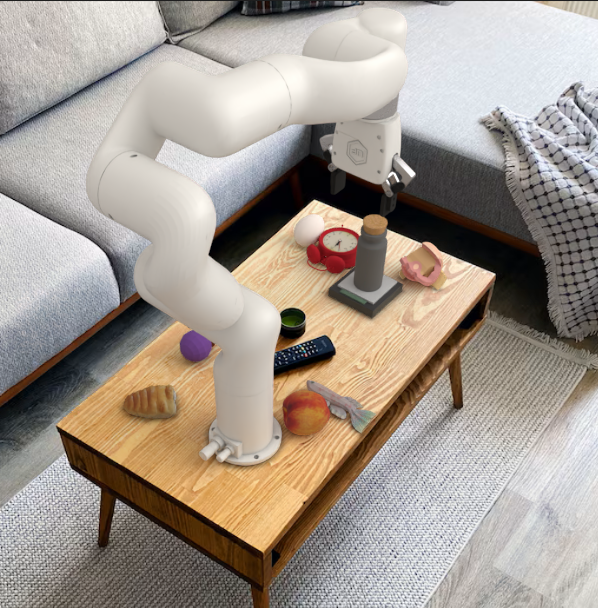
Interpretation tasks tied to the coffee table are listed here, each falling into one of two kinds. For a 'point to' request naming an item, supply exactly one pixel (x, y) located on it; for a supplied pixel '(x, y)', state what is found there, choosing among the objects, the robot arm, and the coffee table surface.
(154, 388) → the pastry
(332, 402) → the fish
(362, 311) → the scale
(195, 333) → the kendama
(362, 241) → the bottle
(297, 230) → the egg
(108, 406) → the coffee table surface
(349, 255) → the alarm clock
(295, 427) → the fruit
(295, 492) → the coffee table surface
